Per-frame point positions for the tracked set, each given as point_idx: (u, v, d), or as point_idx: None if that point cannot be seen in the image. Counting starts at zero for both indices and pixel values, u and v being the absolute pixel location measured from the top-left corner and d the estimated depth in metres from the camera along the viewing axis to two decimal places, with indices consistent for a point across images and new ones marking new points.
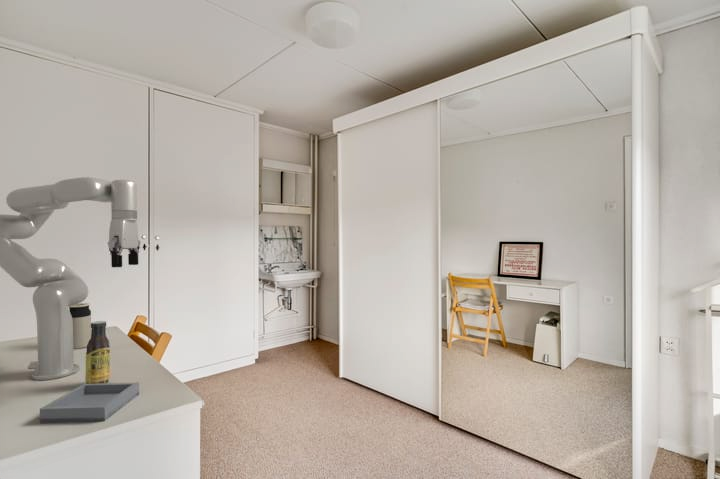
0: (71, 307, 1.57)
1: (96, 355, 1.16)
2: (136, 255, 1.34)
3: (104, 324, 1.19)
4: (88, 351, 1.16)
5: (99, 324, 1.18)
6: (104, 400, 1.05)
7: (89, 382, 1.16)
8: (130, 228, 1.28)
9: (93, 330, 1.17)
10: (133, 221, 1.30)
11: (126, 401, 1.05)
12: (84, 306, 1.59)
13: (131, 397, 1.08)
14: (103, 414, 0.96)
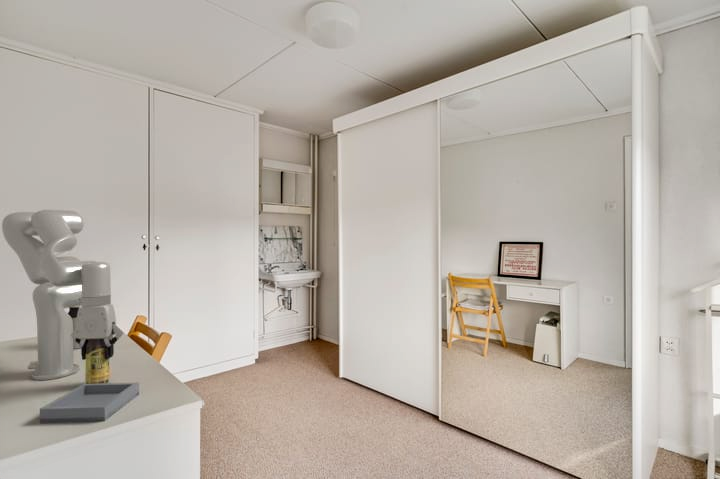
0: (71, 307, 1.57)
1: (95, 355, 1.16)
2: None
3: None
4: (88, 351, 1.16)
5: None
6: (104, 400, 1.05)
7: (89, 382, 1.16)
8: None
9: None
10: None
11: (126, 401, 1.05)
12: None
13: (131, 397, 1.08)
14: (103, 414, 0.96)
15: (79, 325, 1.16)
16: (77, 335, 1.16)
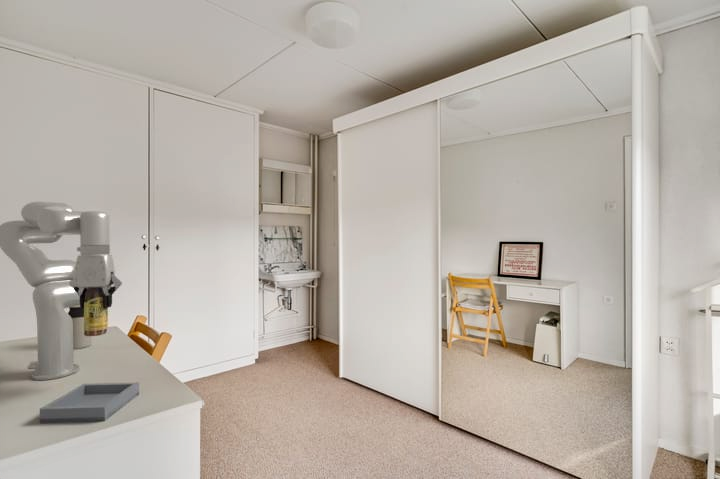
0: (71, 307, 1.57)
1: (94, 303, 1.16)
2: None
3: None
4: (86, 300, 1.16)
5: None
6: (104, 400, 1.05)
7: (87, 331, 1.16)
8: None
9: None
10: None
11: (126, 401, 1.05)
12: None
13: (131, 397, 1.08)
14: (103, 414, 0.96)
15: (78, 273, 1.16)
16: (76, 283, 1.16)
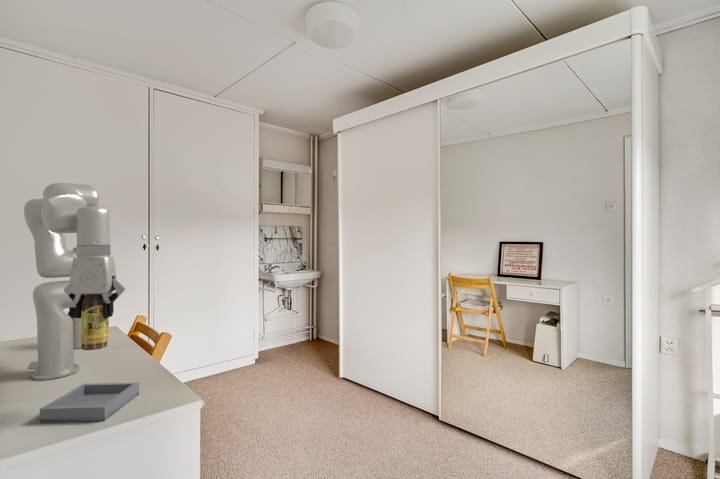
0: (71, 307, 1.57)
1: (93, 312, 1.00)
2: None
3: None
4: (84, 308, 1.00)
5: None
6: (104, 400, 1.05)
7: (85, 344, 1.00)
8: None
9: None
10: None
11: (126, 401, 1.05)
12: None
13: (131, 397, 1.08)
14: (103, 414, 0.96)
15: (74, 277, 1.00)
16: (71, 289, 1.00)
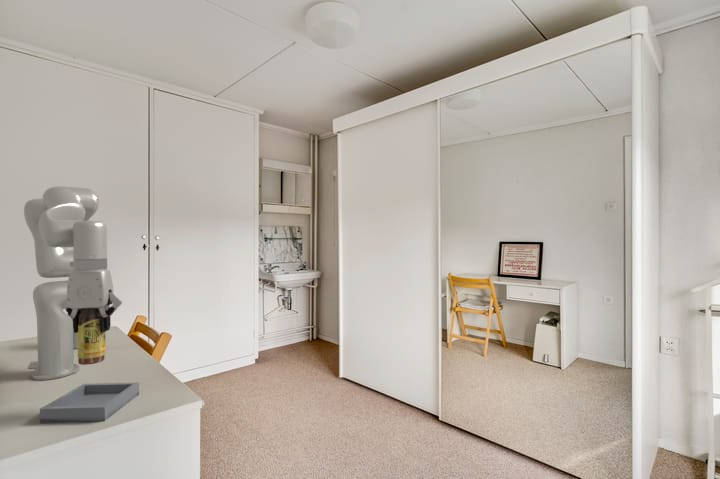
0: None
1: (89, 327, 1.00)
2: None
3: None
4: (81, 322, 1.00)
5: None
6: (104, 400, 1.05)
7: (82, 358, 1.00)
8: None
9: None
10: None
11: (126, 401, 1.05)
12: None
13: (131, 397, 1.08)
14: (103, 414, 0.96)
15: (71, 292, 1.00)
16: (68, 304, 1.00)
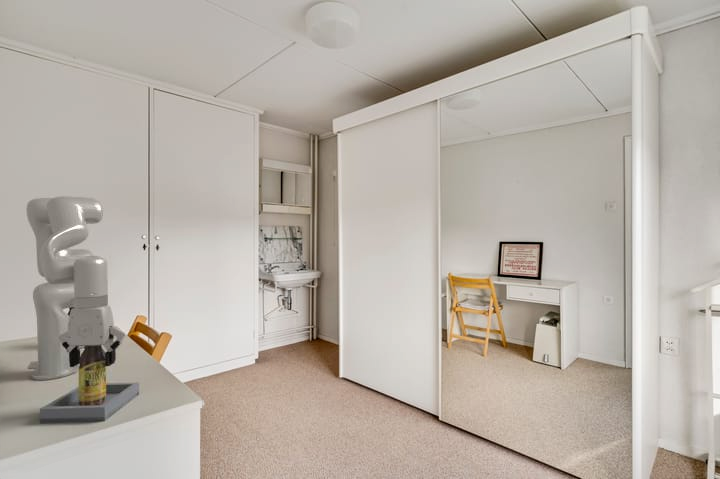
0: (71, 307, 1.57)
1: (90, 370, 1.01)
2: (79, 351, 1.04)
3: None
4: (81, 366, 1.01)
5: None
6: None
7: (83, 401, 1.00)
8: None
9: None
10: None
11: (126, 401, 1.05)
12: None
13: (131, 397, 1.08)
14: (103, 414, 0.96)
15: (72, 330, 1.00)
16: (69, 341, 1.00)
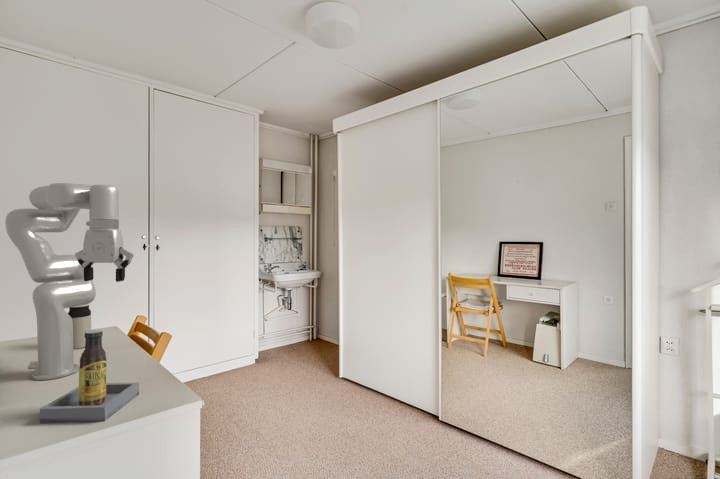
0: (71, 307, 1.57)
1: (90, 370, 1.01)
2: (92, 269, 1.17)
3: (100, 334, 1.03)
4: (82, 365, 1.01)
5: (94, 333, 1.02)
6: None
7: (83, 401, 1.00)
8: None
9: (87, 341, 1.02)
10: None
11: (126, 401, 1.05)
12: (84, 306, 1.59)
13: (131, 397, 1.08)
14: (103, 414, 0.96)
15: (87, 247, 1.13)
16: (84, 258, 1.13)
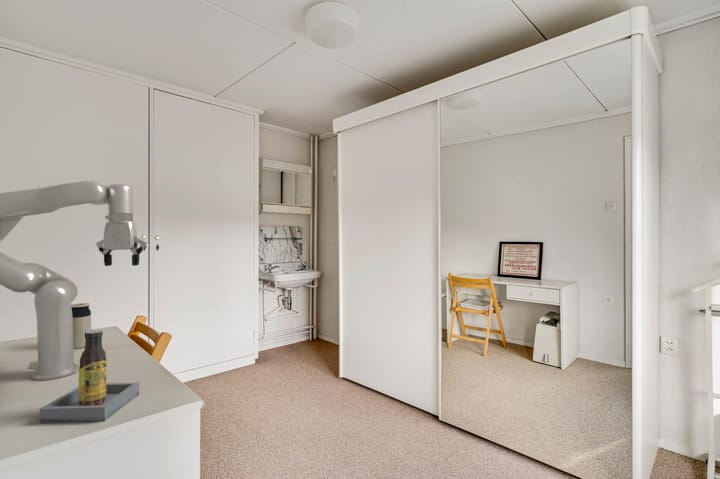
0: (71, 307, 1.57)
1: (90, 370, 1.01)
2: (111, 256, 1.38)
3: (100, 334, 1.03)
4: (82, 365, 1.01)
5: (94, 333, 1.02)
6: None
7: (83, 401, 1.00)
8: None
9: (87, 341, 1.02)
10: None
11: (126, 401, 1.05)
12: (84, 306, 1.59)
13: (131, 397, 1.08)
14: (103, 414, 0.96)
15: (107, 237, 1.34)
16: (105, 246, 1.34)
